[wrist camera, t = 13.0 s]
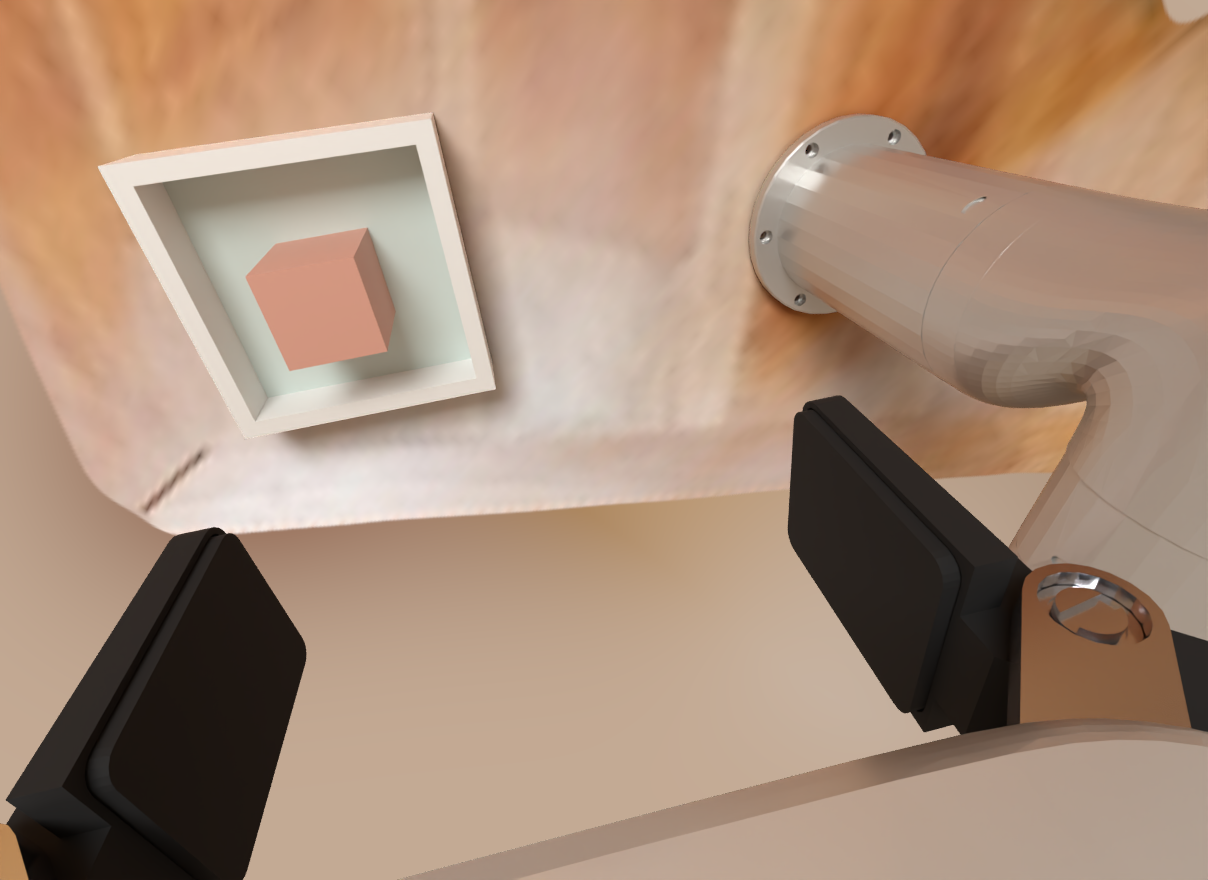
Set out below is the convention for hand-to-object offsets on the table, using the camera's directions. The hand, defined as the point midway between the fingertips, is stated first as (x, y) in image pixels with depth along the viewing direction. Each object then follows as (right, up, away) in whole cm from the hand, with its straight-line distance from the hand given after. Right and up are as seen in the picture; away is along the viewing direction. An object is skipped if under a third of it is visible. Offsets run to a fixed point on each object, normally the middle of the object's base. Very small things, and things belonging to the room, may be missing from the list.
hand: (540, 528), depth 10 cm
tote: (-15, +11, +25) cm, 31 cm away
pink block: (-14, +11, +24) cm, 30 cm away
